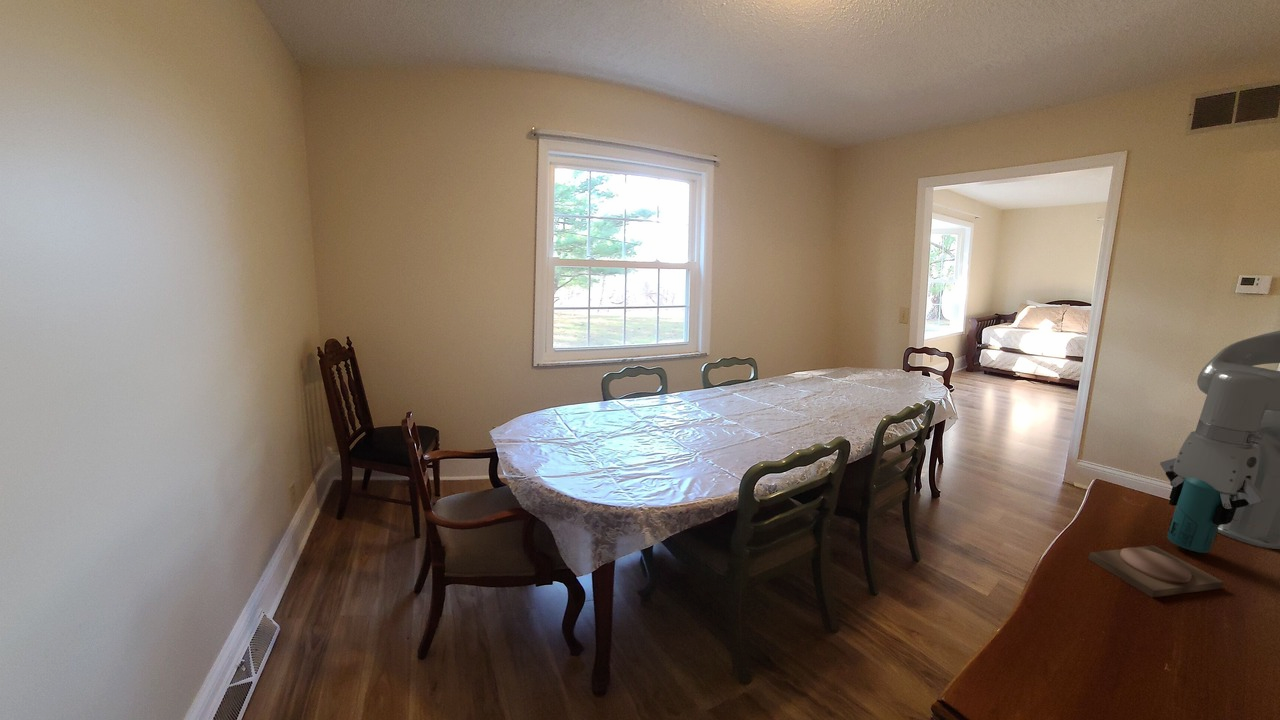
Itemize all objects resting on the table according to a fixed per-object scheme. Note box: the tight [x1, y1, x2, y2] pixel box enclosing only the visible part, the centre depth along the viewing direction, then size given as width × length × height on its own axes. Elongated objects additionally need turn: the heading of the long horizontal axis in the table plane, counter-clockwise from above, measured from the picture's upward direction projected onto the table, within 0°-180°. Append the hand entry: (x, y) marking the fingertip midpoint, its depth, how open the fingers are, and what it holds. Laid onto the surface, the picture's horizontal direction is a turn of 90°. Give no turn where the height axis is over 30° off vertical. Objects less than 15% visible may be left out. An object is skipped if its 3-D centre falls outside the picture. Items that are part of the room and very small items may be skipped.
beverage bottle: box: [1166, 478, 1222, 554], centre depth 99 cm, size 6×7×20 cm
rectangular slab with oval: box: [1087, 544, 1224, 598], centre depth 94 cm, size 16×11×2 cm
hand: (1197, 513), depth 100 cm, fingers closed on beverage bottle, 6 cm apart
